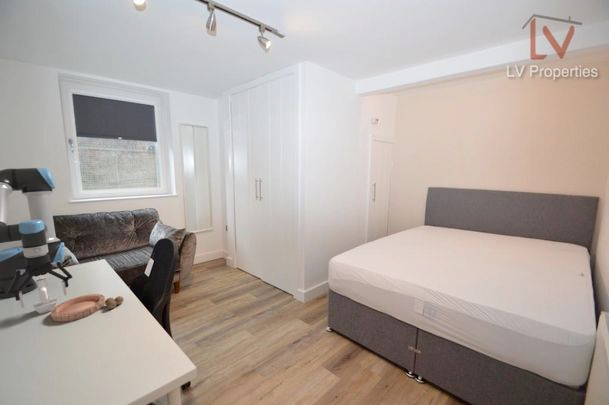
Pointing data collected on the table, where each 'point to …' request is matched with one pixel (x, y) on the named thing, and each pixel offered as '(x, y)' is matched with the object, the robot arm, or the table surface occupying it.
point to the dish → (78, 307)
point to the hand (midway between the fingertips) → (44, 300)
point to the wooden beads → (113, 302)
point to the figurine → (44, 298)
